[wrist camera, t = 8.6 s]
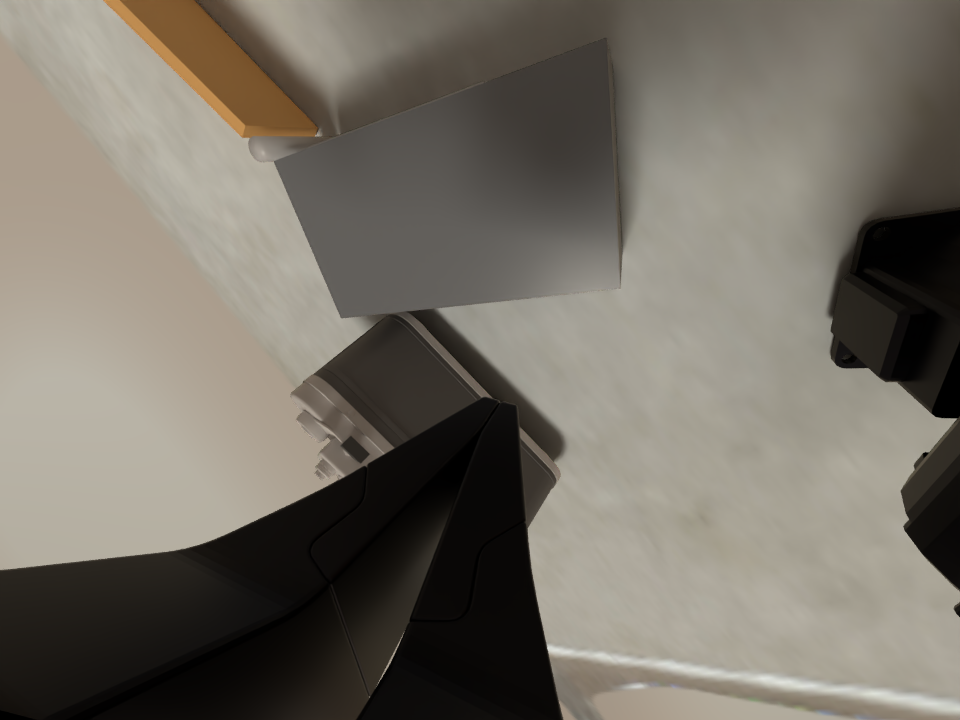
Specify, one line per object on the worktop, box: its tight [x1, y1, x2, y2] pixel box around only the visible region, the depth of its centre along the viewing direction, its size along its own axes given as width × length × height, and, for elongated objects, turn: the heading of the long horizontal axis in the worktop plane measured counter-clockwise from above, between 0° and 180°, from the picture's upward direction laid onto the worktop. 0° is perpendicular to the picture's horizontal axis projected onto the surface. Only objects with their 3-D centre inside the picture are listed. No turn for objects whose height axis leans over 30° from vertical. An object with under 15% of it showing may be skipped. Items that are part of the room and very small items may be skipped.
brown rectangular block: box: [103, 0, 318, 138], centre depth 17 cm, size 11×1×5 cm, turn 48°
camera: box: [291, 312, 561, 529], centre depth 24 cm, size 9×16×10 cm, turn 48°
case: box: [248, 38, 622, 318], centre depth 17 cm, size 15×9×5 cm, turn 104°
